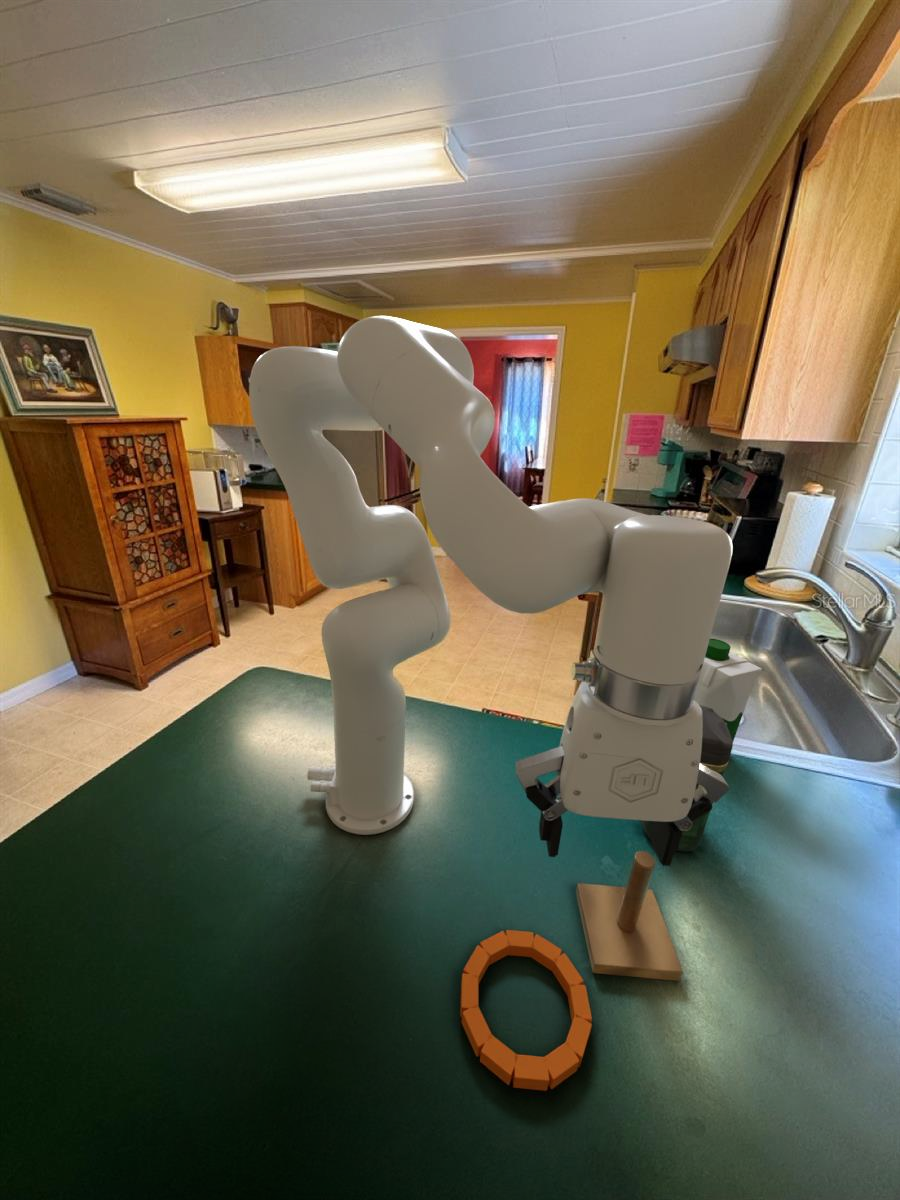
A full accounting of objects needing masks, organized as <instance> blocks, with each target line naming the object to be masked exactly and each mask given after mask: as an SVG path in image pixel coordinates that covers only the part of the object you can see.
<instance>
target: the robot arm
mask: <svg viewBox="0 0 900 1200" xmlns="http://www.w3.org/2000/svg"><path fill="white" fill-rule="evenodd" d="M472 360H473V359H472V357H471V354H470V352H469V350H468V348H467V347H466V346H465V344H464V342H463V341H462V340H461V339H459V338H458V336H456V335H455V334H453V333H451V332H450V331H448V330H445V329H442V328H439V327H435V326H431V325H427V324H423V323H418V322H414V321H410V320H407V319H403V318H399V317H394V316H390V315H389V316H388V315H374V316H368V317H365V318H362V319H360V320H358V321H356V322H354V324H352V325H351V326H349V328H348V329H347V330H346V331H345V332H344V334H343V335H342V337H341V339H340V341H339V344H338V347H337V351H336V350H332V349H324V348H318V347H310V346H298V345H297V346H295V345H291V346H280V347H275V348H271V349H270V350H267V351H265V352H263V353H262V354H261V355H260V356H259V357H258V358H257V359H256V361H255V362H254V364H253V366H252V368H251V372H250V375H249V384H248V385H249V386H248V387H249V388H248V394H249V407H250V412H251V417H252V421H253V424H254V428H255V431H256V433H257V436H258V439H259V441H260V443H261V445H262V447H263V450H264V451H265V453H266V454H267V456H268V458H269V460H270V462H271V463H272V465H273V467H274V469H275V470H276V472H277V474H278V476H279V478H280V480H281V482H282V484H283V486H284V488H285V489H284V490H285V491H286V494H287V496H288V500H289V504H290V507H291V510H292V513H293V516H294V519H295V523H296V525H297V528H298V531H299V534H300V538H301V540H302V544H303V547H304V549H305V553H306V556H307V558H308V561H309V564H310V566H311V569H312V571H313V573H314V576H315V578H316V580H318V581H319V583H320V584H321V585H322V586H323V587H325V588H328V589H332V590H344V589H350V588H355V587H359V586H363V585H367V584H371V583H374V582H379V581H382V580H385V579H386V581H387V584H388V587H389V588H387V589H384V590H378V591H374V592H371V593H367V594H364V595H361V596H357V597H354V598H352V599H349V600H347V601H344V602H343V603H341V604H339V605H337V606H335V607H334V608H333V609H331V611H329V613H328V614H327V615H326V616H325V618H324V620H323V622H322V625H321V631H320V635H321V645H322V648H323V652H324V655H325V660H326V663H327V668H328V673H329V676H330V677H329V678H330V687H331V695H332V696H331V697H332V715H333V731H334V732H333V734H334V735H333V736H334V737H333V738H334V761H335V763H334V765H332V766H330V768H329V767H323V766H316V765H315V766H313V765H311V766H309V768H308V770H307V775H306V776H307V780H308V781H312V782H311V784H310V792H313V793H314V792H315V793H325V794H326V795H325V810H326V814H327V816H328V817H329V819H330V820H331V821H332V823H333V824H334V825H335V826H337V827H338V828H339V829H341V830H343V831H345V832H347V833H351V834H355V835H362V836H363V835H364V836H367V835H368V836H369V835H376V834H380V833H384V832H387V831H389V830H391V829H392V830H393V828H395V827H397V826H399V825H400V824H401V823H402V822H403V821H404V820H406V818H407V817H408V815H409V814H410V813H411V811H412V809H413V806H414V801H415V791H414V786H413V783H412V781H411V779H409V777H408V776H407V775H406V774H405V745H406V743H405V741H406V714H407V713H406V710H407V709H406V708H407V706H406V705H407V704H406V703H407V698H406V691H405V689H404V687H403V685H402V683H401V682H400V680H398V679H397V677H396V676H395V675H394V672H393V671H394V669H395V668H396V666H398V665H399V664H401V663H403V662H405V661H407V660H408V659H411V658H414V657H415V656H418V655H420V654H422V653H424V652H426V651H428V650H431V649H433V648H434V647H435V648H436V646H438V645H440V644H441V643H443V641H444V640H445V639H446V638H447V636H448V635H449V632H450V628H451V622H452V621H451V620H452V619H451V618H452V617H451V610H450V604H449V601H448V597H447V594H446V591H445V587H444V583H443V581H442V578H441V574H440V571H439V568H438V564H437V560H436V557H435V554H434V552H433V548H432V545H431V541H430V539H429V536H428V533H427V531H426V529H425V527H424V526H423V524H422V522H421V521H420V520H419V518H418V517H417V515H415V514H414V513H413V512H412V511H410V510H409V509H408V508H406V507H403V506H401V505H396V504H384V505H377V506H369V505H367V503H366V502H365V499H364V497H363V494H362V493H361V490H360V486H359V482H358V479H357V476H356V473H355V472H354V470H353V467H352V466H351V465H350V463H349V462H348V460H347V459H346V457H344V455H343V454H342V452H341V451H340V450H339V449H337V448H336V447H335V445H333V444H332V443H331V442H330V441H329V440H328V439H326V437H325V436H324V433H323V431H361V432H366V431H367V432H374V431H384V432H385V433H386V434H387V435H388V436H389V437H390V438H391V440H393V441H394V443H396V445H397V446H398V447H399V448H400V449H401V450H402V451H403V452H404V453H405V455H407V457H408V458H410V460H411V461H412V462H413V463H414V464H415V465H416V466H417V468H418V469H419V479H418V480H419V481H418V482H419V483H418V486H419V495H420V500H421V504H422V507H423V513H424V516H425V519H426V522H427V525H428V527H429V530H430V533H431V534H432V536H433V538H434V540H435V541H436V543H437V544H438V545H439V547H440V548H441V550H442V551H443V552H444V554H445V555H447V557H448V558H449V559H450V560H451V562H453V563H454V564H455V565H456V567H457V568H458V569H459V570H460V571H461V572H462V574H463V575H464V576H465V577H466V578H467V579H468V581H470V583H471V584H472V585H473V586H474V587H475V588H476V589H478V591H480V593H481V594H483V595H484V596H485V597H486V598H487V599H489V600H490V601H491V602H493V603H494V604H495V605H498V606H499V607H500V608H504V609H505V610H507V611H510V612H514V613H517V614H526V615H527V614H528V615H530V614H531V615H534V614H539V613H543V612H547V611H548V610H550V609H553V608H555V607H558V606H560V605H562V604H564V603H565V602H568V601H570V600H572V599H574V598H576V597H578V596H580V595H586V594H592V593H596V592H600V593H602V598H601V604H600V610H599V616H598V623H597V628H596V635H595V641H594V645H593V649H590V653H589V657H588V658H587V661H585V660H584V661H581V662H576V661H575V662H572V665H571V670H570V671H571V673H570V674H571V679H572V680H573V681H581V682H580V684H579V686H578V688H577V690H576V692H575V695H574V697H573V699H572V701H571V705H570V707H569V709H568V713H567V716H566V720H565V722H564V726H563V730H562V733H561V737H560V741H559V746H557V747H554V748H551V749H548V750H545V751H541V752H540V753H536V754H532V755H531V756H527V757H524V758H520V759H519V760H517V761H516V762H515V764H514V766H515V773H516V777H517V779H518V781H519V784H520V785H521V788H522V789H523V790H524V793H525V794H526V795H525V796H526V798H527V799H528V800H529V801H530V803H532V804H533V805H534V806H535V807H536V808H537V809H538V810H539V812H540V816H539V817H540V818H539V824H538V825H539V826H538V833H539V840H540V841H545V843H546V848H547V853H548V858H556V857H557V856H558V855H559V850H560V844H561V838H562V833H563V826H564V825H563V818H562V816H563V814H565V813H567V812H571V813H572V814H576V815H579V816H585V817H593V818H606V819H616V820H617V819H618V820H631V821H632V820H633V821H641V820H644V821H653V825H652V829H651V833H650V838H649V839H650V842H651V844H652V847H653V849H654V851H655V854H656V856H657V859H658V861H659V863H660V864H662V866H664V867H670V866H672V865H671V864H672V861H673V858H674V855H675V852H676V851H678V850H677V849H678V846H679V843H680V839H681V836H682V833H683V831H687V830H689V829H691V828H692V826H693V824H692V821H694V820H695V819H697V818H699V817H701V816H703V815H704V814H706V813H708V812H710V813H711V811H712V810H713V804H714V803H715V804H716V803H717V802H718V801H720V799H721V798H723V797H724V796H725V795H726V793H728V792H729V790H730V786H729V784H728V783H727V781H726V779H725V778H724V777H723V775H720V774H719V773H717V772H715V771H713V770H711V769H710V768H708V767H706V766H704V765H702V764H700V759H701V748H702V726H703V718H702V709H701V707H700V706H699V705H698V704H697V703H696V702H695V701H694V696H695V692H696V689H697V685H698V681H699V677H700V674H701V670H702V667H703V663H704V659H705V655H706V651H707V648H708V644H709V640H710V638H711V636H712V632H713V628H714V624H715V621H716V616H717V613H718V610H719V607H720V602H721V599H722V595H723V591H724V588H725V583H726V580H727V577H728V573H729V569H730V565H731V562H732V556H733V542H732V538H731V536H730V535H729V534H728V532H726V530H724V529H723V528H722V527H720V526H718V525H715V524H713V523H711V522H707V521H703V520H699V519H694V518H689V517H683V516H682V517H681V516H675V515H674V516H673V515H661V514H658V515H657V514H645V513H642V512H638V511H635V510H632V509H628V508H626V507H623V506H620V505H616V504H613V503H611V502H607V501H604V500H601V499H595V498H587V497H586V498H585V497H584V498H583V497H582V498H580V497H579V498H572V499H567V500H558V501H554V502H547V503H542V504H541V503H540V504H536V505H531V506H529V505H527V504H526V503H525V502H524V501H523V500H521V499H520V498H519V497H518V496H517V495H516V494H515V493H514V492H513V491H512V490H511V489H510V488H509V487H508V486H507V485H506V484H505V483H504V482H503V481H502V480H501V479H500V478H499V477H498V476H497V475H496V474H495V473H494V471H492V470H491V469H490V467H489V466H488V465H487V464H486V463H485V461H484V459H483V458H482V457H481V456H482V454H483V453H484V452H485V449H486V448H487V446H488V444H489V442H490V440H491V438H492V436H493V434H494V433H493V432H494V430H495V426H496V425H495V424H496V415H495V414H496V413H495V408H494V406H493V404H492V402H491V401H490V399H489V398H488V397H487V396H486V395H485V394H484V393H483V392H482V391H480V390H479V389H478V388H477V387H476V386H475V385H474V379H475V378H474V377H475V371H474V364H473V361H472ZM553 772H556V774H557V775H556V776H555V777H553V778H552V779H551V780H550V781H548V782H547V783H545V784H544V783H543V782H542V781H541V780H540V779H539V777H540V776H544V775H547V774H550V773H553ZM322 781H323V782H322ZM324 781H325V782H324ZM696 783H697V784H699V786H698V788H696Z"/></svg>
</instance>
